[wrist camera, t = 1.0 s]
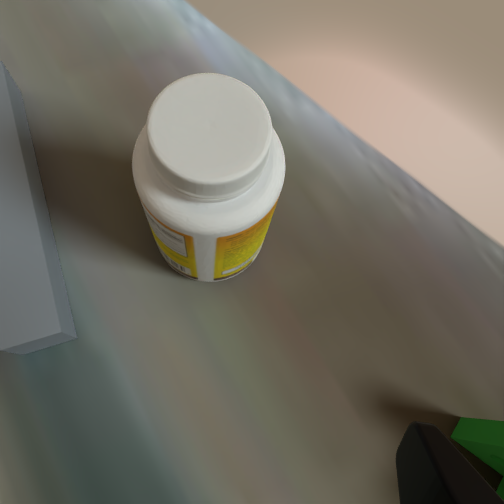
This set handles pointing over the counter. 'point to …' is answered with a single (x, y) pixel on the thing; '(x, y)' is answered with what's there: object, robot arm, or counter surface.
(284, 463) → the counter surface
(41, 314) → the housing cradle
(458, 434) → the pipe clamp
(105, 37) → the counter surface
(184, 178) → the supplement bottle
